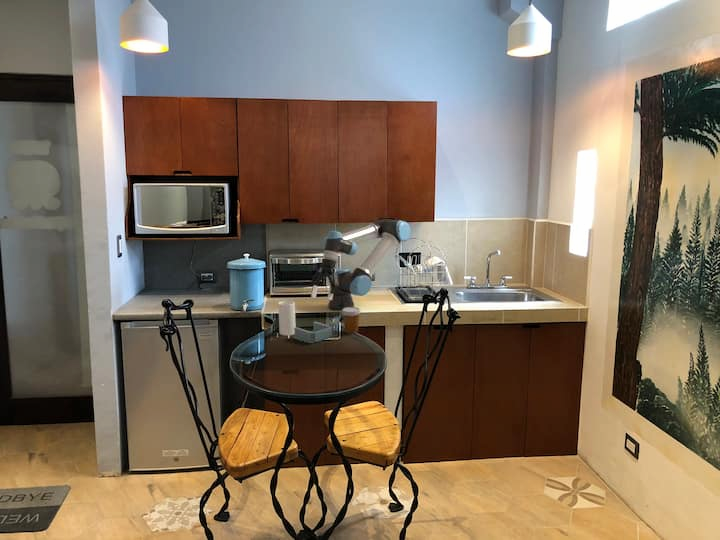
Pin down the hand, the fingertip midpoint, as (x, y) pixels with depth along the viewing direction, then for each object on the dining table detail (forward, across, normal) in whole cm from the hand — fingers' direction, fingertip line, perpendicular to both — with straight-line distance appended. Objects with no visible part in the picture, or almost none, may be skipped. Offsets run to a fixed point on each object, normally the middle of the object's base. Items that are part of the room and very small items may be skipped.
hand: (321, 298), depth 298 cm
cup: (+21, -2, -15) cm, 26 cm away
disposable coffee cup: (+14, +20, +8) cm, 26 cm away
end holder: (+20, +12, -10) cm, 26 cm away
